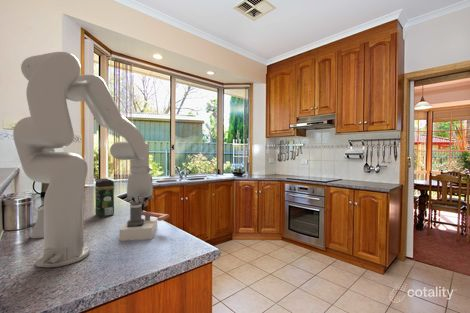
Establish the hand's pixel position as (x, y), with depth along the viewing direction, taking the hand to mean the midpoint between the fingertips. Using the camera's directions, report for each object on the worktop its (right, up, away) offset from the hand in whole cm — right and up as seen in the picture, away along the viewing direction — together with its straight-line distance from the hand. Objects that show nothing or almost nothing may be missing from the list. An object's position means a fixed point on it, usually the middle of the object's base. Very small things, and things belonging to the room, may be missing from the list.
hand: (140, 212), depth 99 cm
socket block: (+4, -6, -10) cm, 12 cm away
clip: (+6, 0, -7) cm, 9 cm away
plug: (+3, -6, -12) cm, 13 cm away
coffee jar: (-25, -6, +16) cm, 31 cm away
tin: (-41, -6, +3) cm, 41 cm away
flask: (-32, -6, -13) cm, 35 cm away
